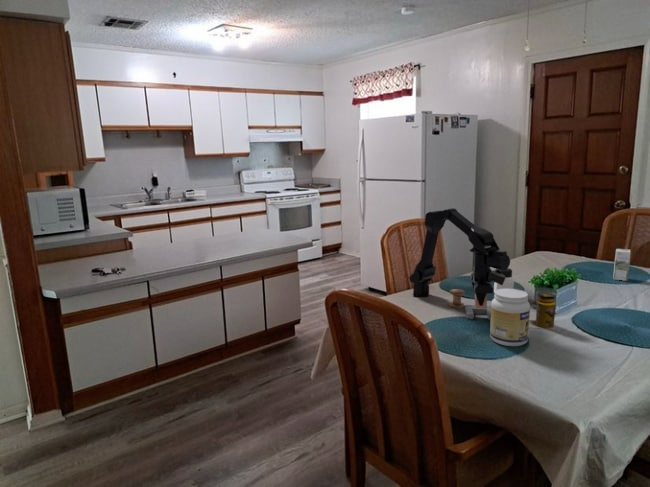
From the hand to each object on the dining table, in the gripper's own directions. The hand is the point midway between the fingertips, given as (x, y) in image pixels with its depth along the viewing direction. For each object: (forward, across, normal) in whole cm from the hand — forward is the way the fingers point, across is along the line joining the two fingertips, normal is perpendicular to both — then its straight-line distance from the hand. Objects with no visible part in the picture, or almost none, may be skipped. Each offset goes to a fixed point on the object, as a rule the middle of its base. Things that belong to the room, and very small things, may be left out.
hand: (480, 303), depth 175 cm
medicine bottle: (+6, +28, -13) cm, 31 cm away
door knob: (+5, +11, +8) cm, 15 cm away
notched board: (+5, +2, 0) cm, 6 cm away
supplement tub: (+6, -21, -7) cm, 23 cm away
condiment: (+6, -6, -21) cm, 23 cm away
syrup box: (+6, +57, -70) cm, 90 cm away
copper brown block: (+1, 0, 0) cm, 1 cm away
